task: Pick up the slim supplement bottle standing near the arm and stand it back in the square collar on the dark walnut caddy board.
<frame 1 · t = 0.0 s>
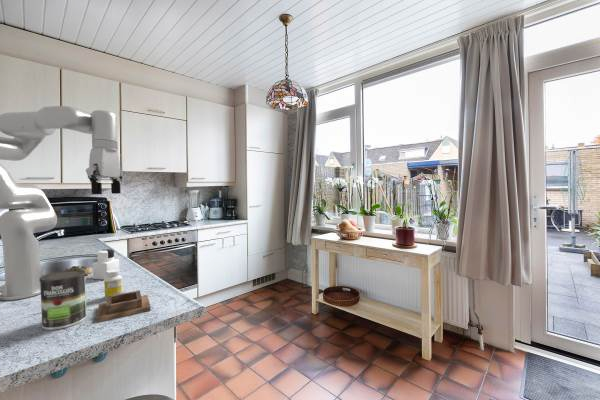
hand: (106, 193, 101), 37 cm above the worktop, tool pointing down, fingers open, 9 cm apart
coffee can: (65, 322, 82), on the worktop
medicine bottle: (106, 277, 123), on the worktop
bread roll: (78, 275, 127), on the worktop
caddy: (124, 308, 91), on the worktop
supplement bottle: (114, 297, 101), on the worktop
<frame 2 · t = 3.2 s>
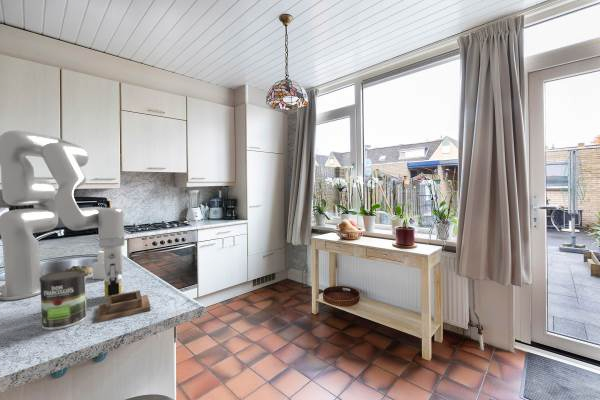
hand: (113, 291, 101), 2 cm above the worktop, tool pointing down, fingers closed on supplement bottle, 5 cm apart
supplement bottle: (114, 297, 101), on the worktop, touching gripper
everything else where it was.
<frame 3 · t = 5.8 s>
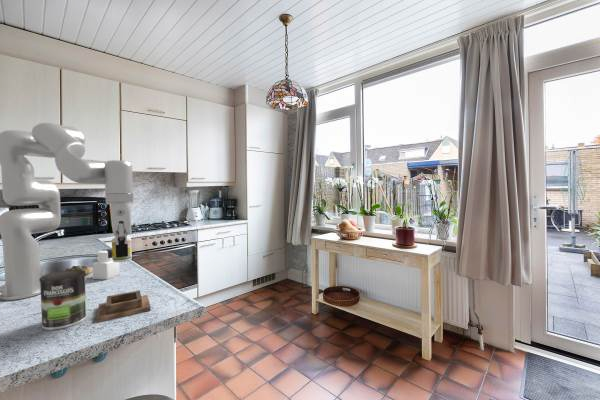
hand: (121, 254, 91), 18 cm above the worktop, tool pointing down, fingers closed on supplement bottle, 5 cm apart
supplement bottle: (122, 261, 91), point 16 cm above the worktop, touching gripper
everything else where it was.
when the fingers open (5 cm above the worktop, at t = 8.7 s): supplement bottle drops 2 cm, resting on caddy.
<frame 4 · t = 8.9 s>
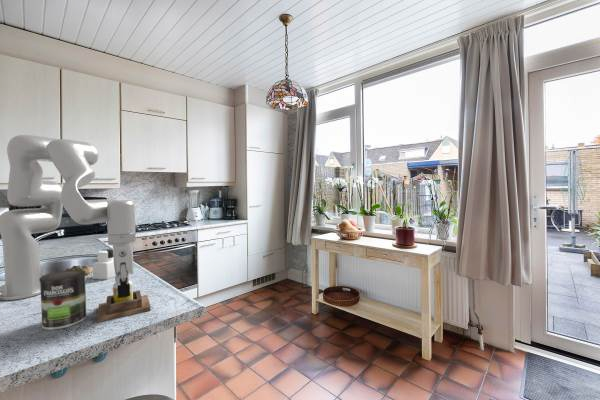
hand: (123, 292, 90), 5 cm above the worktop, tool pointing down, fingers open, 7 cm apart
supplement bottle: (123, 305, 91), point 1 cm above the worktop, touching caddy
everything else where it was.
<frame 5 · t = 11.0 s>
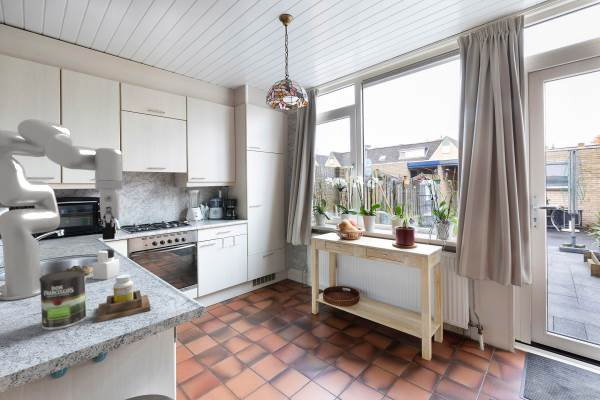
hand: (109, 236, 94), 23 cm above the worktop, tool pointing down, fingers open, 9 cm apart
nothing on the worktop moved.
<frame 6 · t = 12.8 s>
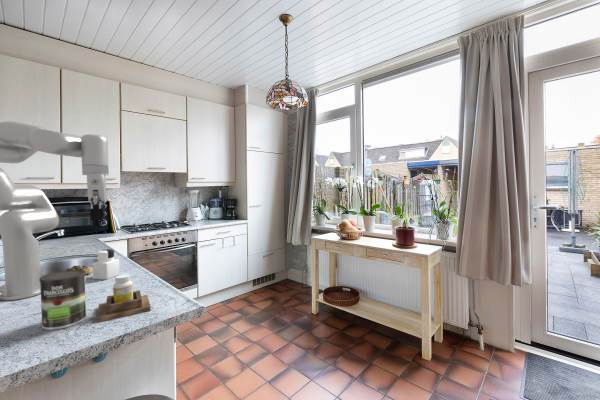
hand: (97, 219, 99), 28 cm above the worktop, tool pointing down, fingers open, 9 cm apart
nothing on the worktop moved.
at the end: supplement bottle 0.3 cm off-centre on the caddy, point 1.0 cm above the caddy's base; supplement bottle tilted 0°; the gripper is holding nothing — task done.
